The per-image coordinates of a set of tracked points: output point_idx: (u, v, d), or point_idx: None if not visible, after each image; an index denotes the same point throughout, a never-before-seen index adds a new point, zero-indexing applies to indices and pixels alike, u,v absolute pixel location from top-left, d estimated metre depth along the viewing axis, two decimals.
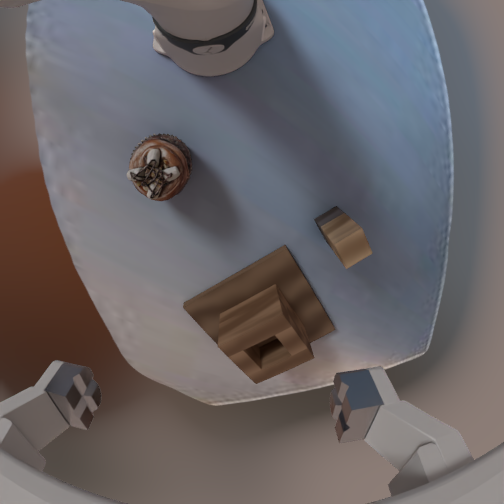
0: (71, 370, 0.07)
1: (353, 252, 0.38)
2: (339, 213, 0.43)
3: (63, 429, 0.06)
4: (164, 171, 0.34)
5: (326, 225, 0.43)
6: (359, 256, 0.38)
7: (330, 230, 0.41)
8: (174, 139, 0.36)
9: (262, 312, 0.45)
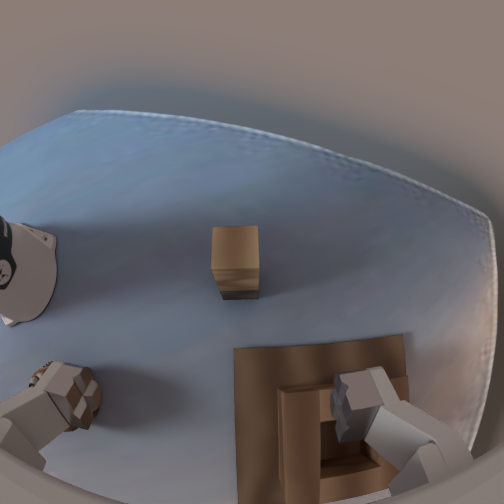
0: (71, 370, 0.07)
1: (239, 249, 0.27)
2: None
3: (63, 429, 0.06)
4: None
5: None
6: (251, 243, 0.27)
7: None
8: (48, 364, 0.27)
9: (282, 422, 0.23)
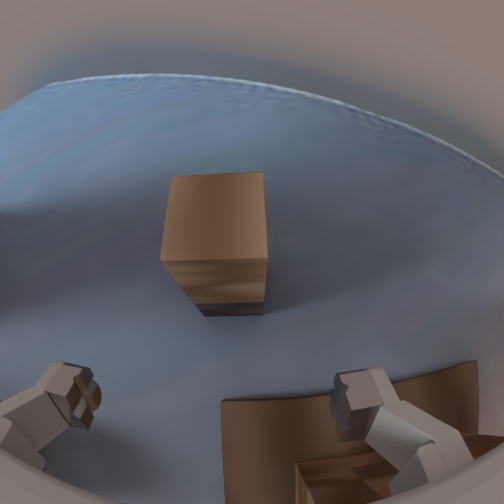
0: (71, 370, 0.07)
1: (222, 218, 0.12)
2: None
3: (63, 429, 0.06)
4: None
5: None
6: (249, 206, 0.12)
7: None
8: None
9: None
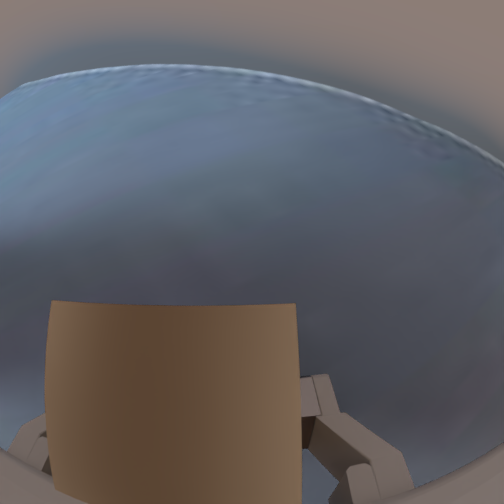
0: None
1: (176, 462, 0.03)
2: None
3: None
4: None
5: None
6: (254, 433, 0.03)
7: None
8: None
9: None
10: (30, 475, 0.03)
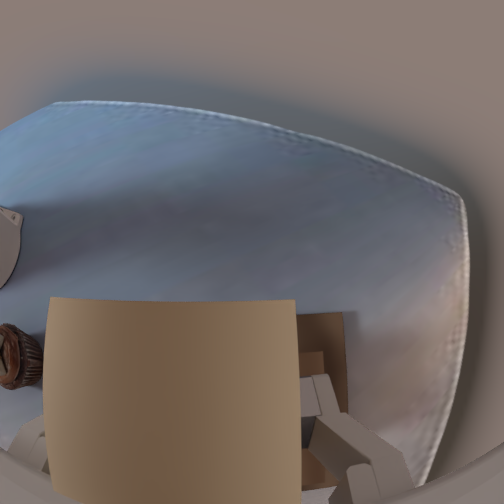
0: None
1: (174, 460, 0.03)
2: None
3: None
4: None
5: None
6: (253, 430, 0.03)
7: None
8: None
9: None
10: (30, 475, 0.03)
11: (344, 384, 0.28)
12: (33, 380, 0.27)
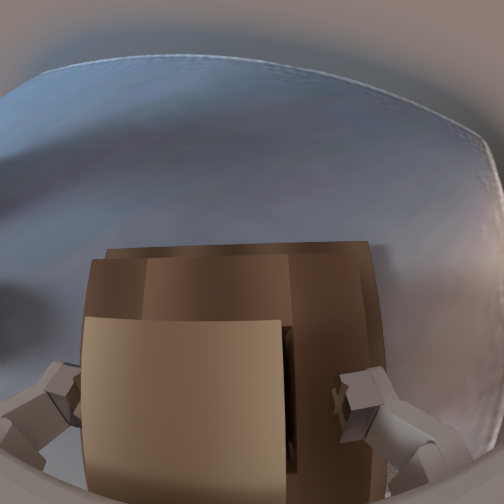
0: (71, 370, 0.07)
1: (190, 441, 0.05)
2: None
3: (63, 429, 0.06)
4: None
5: None
6: (249, 417, 0.05)
7: None
8: None
9: None
10: (30, 475, 0.03)
11: (379, 346, 0.18)
12: None
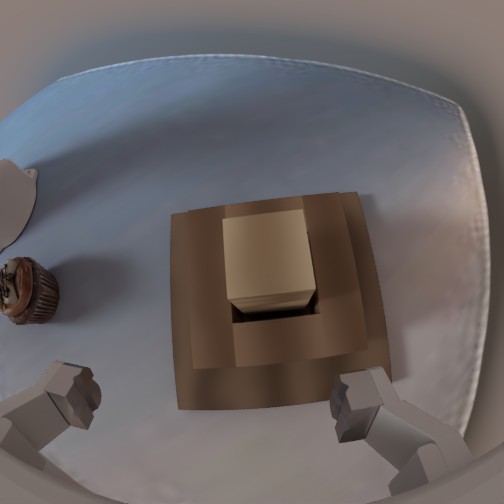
0: (71, 370, 0.07)
1: (274, 256, 0.15)
2: None
3: (63, 429, 0.06)
4: None
5: None
6: (295, 244, 0.15)
7: None
8: None
9: None
10: (30, 475, 0.03)
11: (371, 262, 0.28)
12: (47, 313, 0.30)
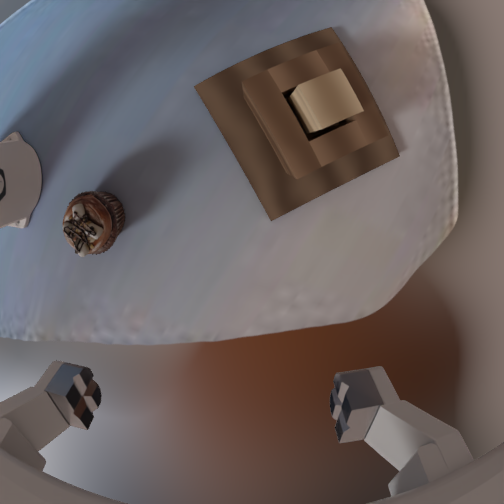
0: (71, 370, 0.07)
1: (337, 98, 0.21)
2: (289, 104, 0.28)
3: (63, 429, 0.06)
4: None
5: (304, 126, 0.28)
6: (345, 89, 0.21)
7: (308, 124, 0.26)
8: None
9: (256, 110, 0.29)
10: (30, 475, 0.03)
11: (359, 75, 0.32)
12: (121, 222, 0.39)
